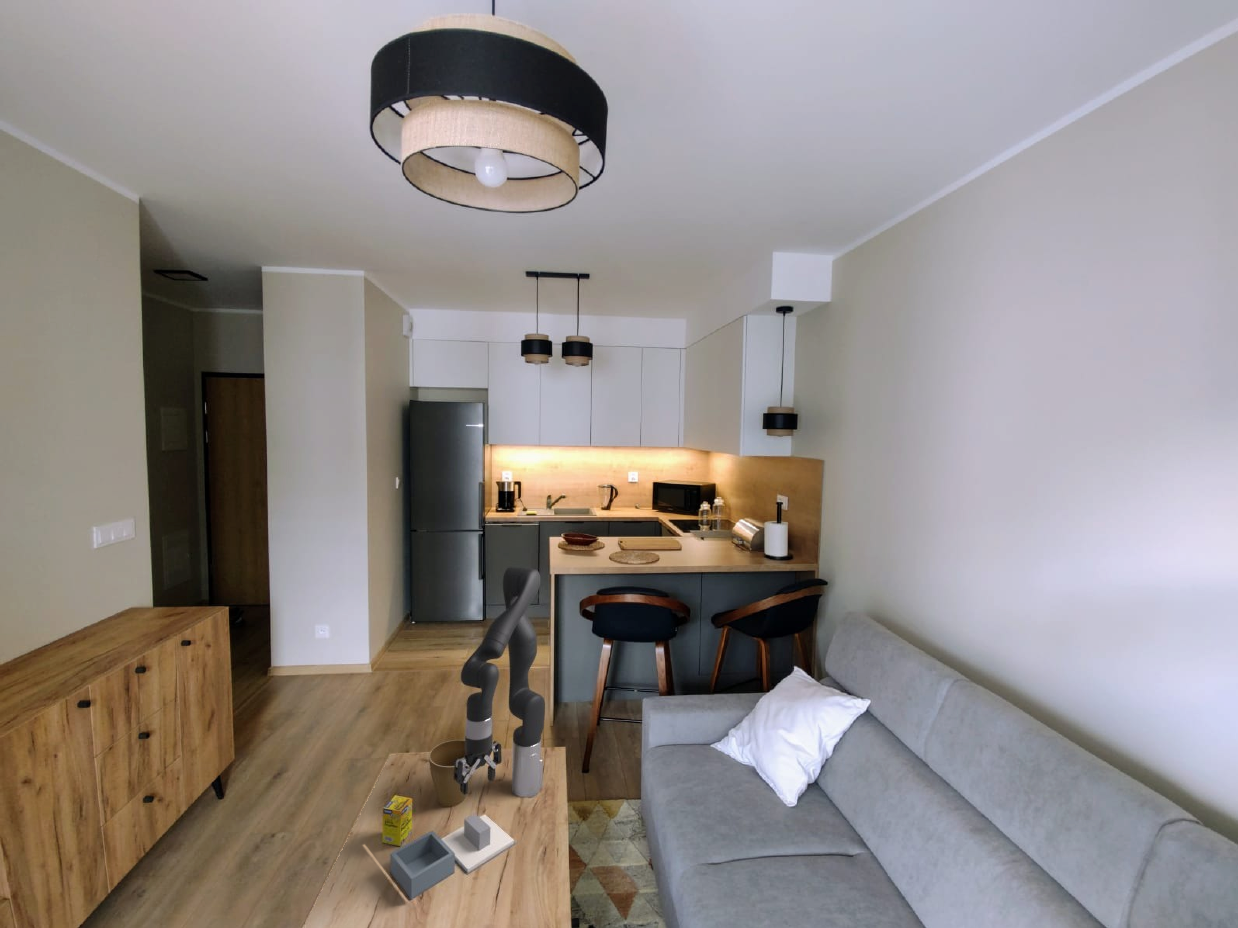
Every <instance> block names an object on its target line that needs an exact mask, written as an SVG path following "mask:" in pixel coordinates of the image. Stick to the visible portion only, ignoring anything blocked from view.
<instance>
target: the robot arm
mask: <svg viewBox="0 0 1238 928" xmlns="http://www.w3.org/2000/svg"><path fill="white" fill-rule="evenodd" d="M541 582H542V581H541V575H540V573H539V571H538V570H537V569H534V568H531V567H519V566H510V567H509V566H508V567H507V568H506V569H505V571H504V574H503V577H502V593H503V598H504V599H503V601H504V605H505V610H504V611H503V612H502V613H501V614H499V615H498V616H497V617H496V618H495V619H494V620H493V621H492V622H491V624H490V625H489V627H488V629H487V631H486V633H485V634H484V638H483V640H482V641H481V643H480V645H479V646H478V647H477V648H476V649H475V650H474V652H473V653H472V654H471V656H469V658H468V659H467V660H466V661H465V663H464V665H463V666H462V668H461V672H460V680H461V682H462V684H463V685H464V686H467V687H471V688H476V689H480V690H481V691H477V692H474V693H471V694H470V695H469V696H468V697H467V699H466V719H465V720H466V721H465V726H464V727H465V731H464V732H465V733H464V737H465V738H464V740H465V751H466V754H465V757H464V758H462V759H458V758H456V759H455V763H454V776H453V779H454V780H455V781H456V782H457V783H458V784H460V791H461V792H462V793H463V794H464V795H466V796H467V795H468V793H469V788H468V779H469V777H470V775H472V774H474V772H475V770H477V769H478V770H479V768H481V767H484V766H486V764H487V765H488V766H487V779H488V781H490V782H493V781H494V780H495V778H496V768H497V766H498V765H500V764H501V763H502V744H501V743H499V742H498V741H497V740H495V741H493V724H494V723H493V722H494V721H493V701H494V696H495V692H496V688H497V685H498V682H499V679H500V670H499V668H498V666H497V665H496V664H495V663H492V662H488V661H490V660H497V659H500V658H501V657H502V656H503V654H504V652H505V650H506V649H507V648H508V649H507V650H508V661H509V664H508V665H509V687H508V709H509V712H510V713H511V714H512V716H513V717H515V718H517V719H519V720H521V721H522V725H520V726H519V725H518V727H516V728H515V729H514V731H513V734H512V768H511V769H512V770H511V773H512V774H511V792H512V793H513V795H515V796H517V797H519V798H527V799H529V798H530V799H531V798H533V797H535V796H536V795H537V794H538V793H540V790H541V789H542V788H543V773H544V771H543V770H544V769H543V767H544V759H542V755H541V754H542V734H543V732H544V728H545V718H546V717H545V715H546V701H545V698H544V696H543V695H541V694H539V693H538V692H536V691H533V690H532V689H530V683H529V673H530V669H531V668H532V666H533V664H534V662H535V659H536V657H537V653H538V640H537V632H536V629H535V628H534V625H533V623H532V622H531V620H530V619H529V617H528V615H527V614H526V612H527V610H528V608H529V607H530V605H531V603H532V602H533V600H534V598H535V597H536V595H537V594H538V592H539V589H540V586H541ZM491 754H493V755H492V756H493V759H492V758H491ZM465 762H466V763H465ZM464 763H465V765H464ZM468 766H470V767H471V768H470V770H469V769H468ZM465 774H466V775H465ZM472 776H473V775H472Z"/></svg>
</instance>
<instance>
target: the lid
mask: <svg viewBox="0 0 1238 928" xmlns="http://www.w3.org/2000/svg"><path fill="white" fill-rule="evenodd" d="M463 820H464V821H463V823H464V825H463V826H461V827H460V828H458V829H456V830H454V831H452V832H451V833H449V834H447V835H446V836H443V837H442V838H440V839H441V840H442V841H443V842H444V843H445V844H446V845H447V846H448V847H449V848H450V849H451V850H452V851H453V852H454V853H455V860H456V861H457V862H458V863H459V864H460V865H461V866H462V867H463V868H464V869H465V870H466V872H467V873H469V872H470V871H472V870H473V869H475V868H476V867H478V866H480V865H481V864H483V863H484V862H486V861H487V860H489V859H491V858H492V857H494V856H495V855H497V854H498V853H500V852H502V851H503V850H505V849H506V848H508V847H509V846H511V845H513V844H514V842H515V840H514V838H513V837H511V836H510V835H509V834H508V833H507V832H506V831H504V830H503V829H502V827H500V826H499V825H498V824H497V823H495V822H494V821H493V819H491V818H490V817H489V816H488V815H487V814H483V815H480V816H479V815H478V814H477V813H473V814H471V815H469V816H468V817H466V818H464V819H463Z"/></svg>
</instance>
